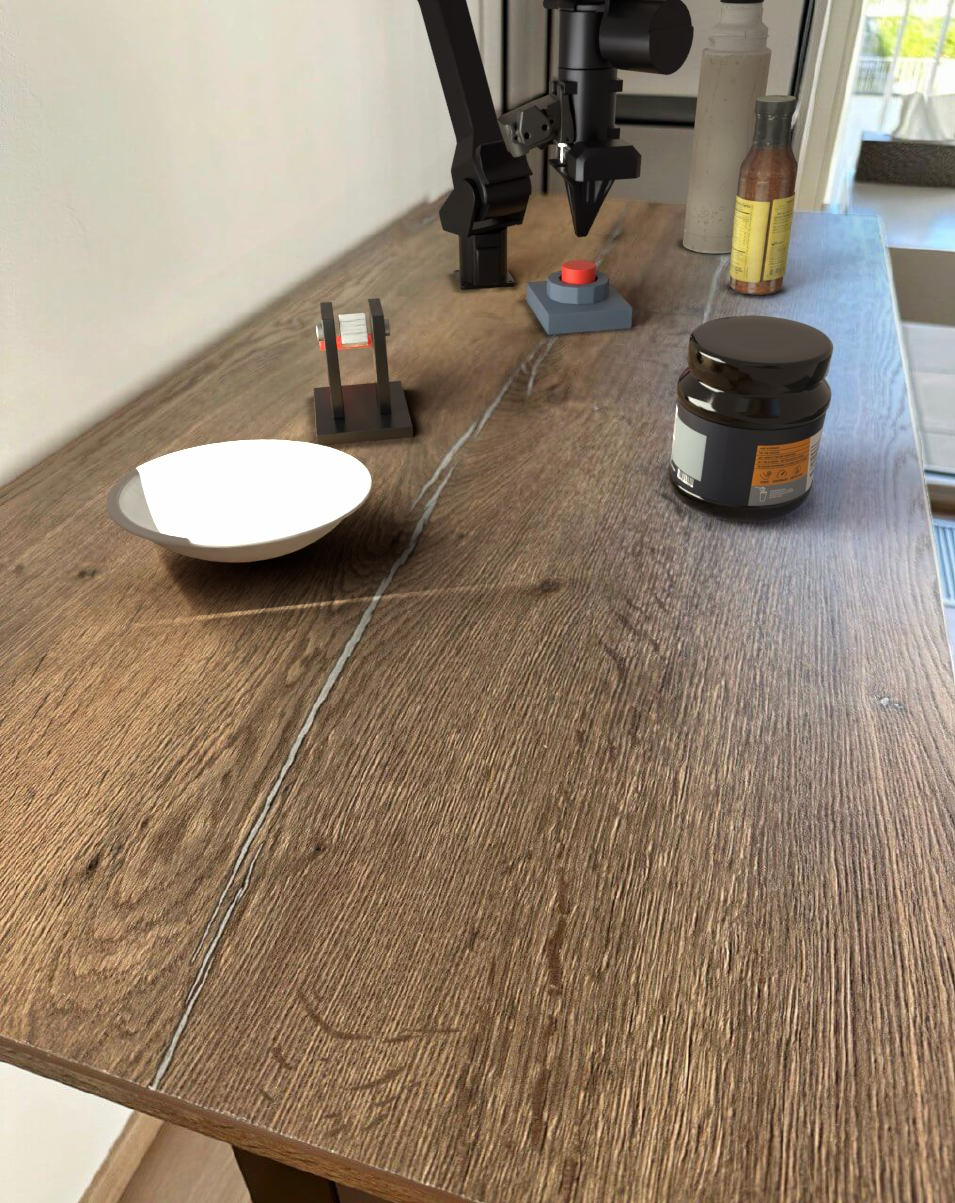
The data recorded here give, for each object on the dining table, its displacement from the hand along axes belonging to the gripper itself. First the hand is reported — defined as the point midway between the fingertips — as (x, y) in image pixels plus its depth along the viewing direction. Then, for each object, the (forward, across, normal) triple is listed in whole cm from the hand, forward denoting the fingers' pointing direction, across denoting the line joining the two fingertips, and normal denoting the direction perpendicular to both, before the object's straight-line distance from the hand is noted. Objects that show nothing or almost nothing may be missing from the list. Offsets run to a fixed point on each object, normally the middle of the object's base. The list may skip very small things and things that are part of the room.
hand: (580, 236), depth 100 cm
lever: (+4, +18, -25) cm, 31 cm away
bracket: (+8, +22, -25) cm, 34 cm away
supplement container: (+9, +41, +2) cm, 42 cm away
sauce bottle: (+9, -4, +22) cm, 24 cm away
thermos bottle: (+8, -22, +24) cm, 34 cm away
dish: (+9, +42, -34) cm, 55 cm away
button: (+5, 0, 0) cm, 5 cm away
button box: (+8, 0, 0) cm, 8 cm away
